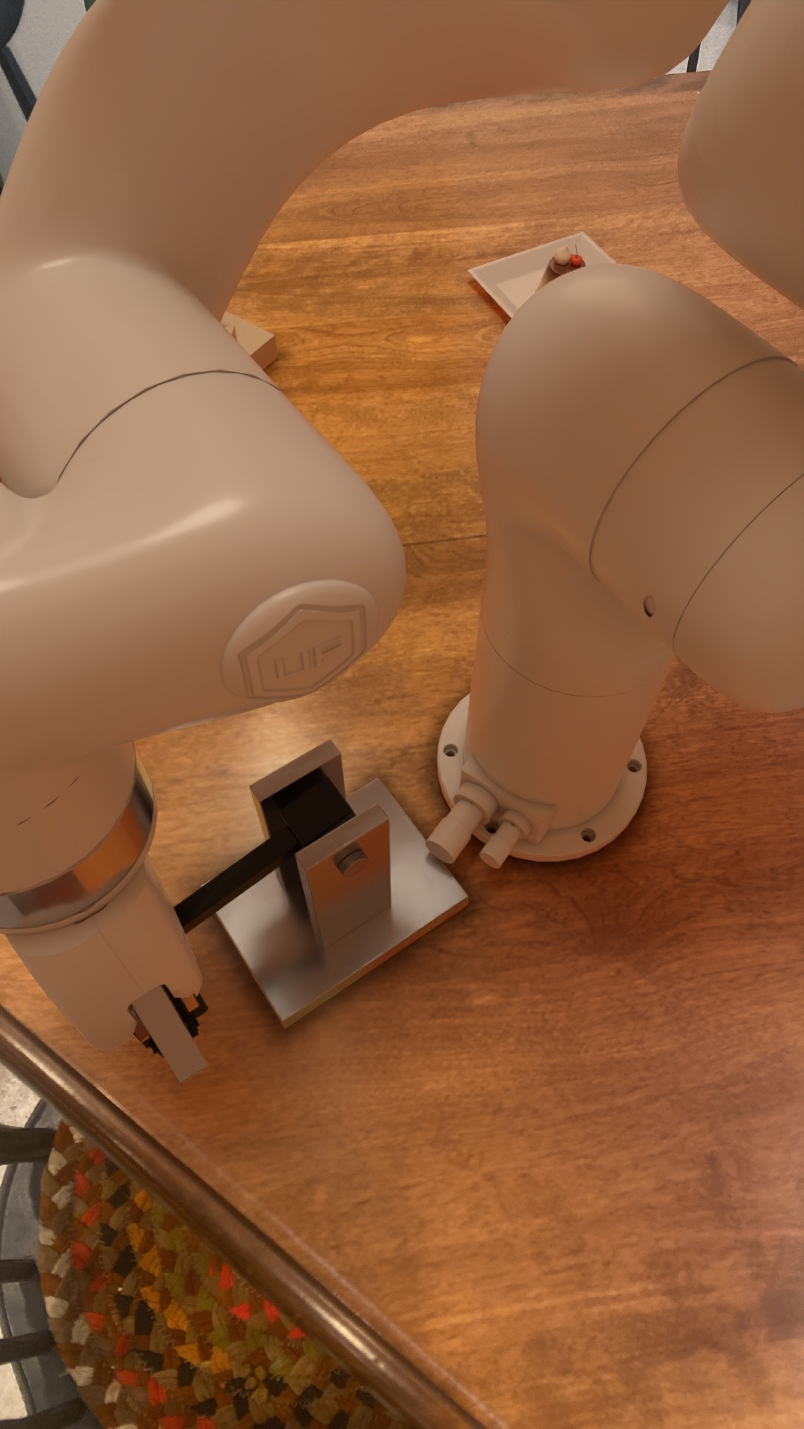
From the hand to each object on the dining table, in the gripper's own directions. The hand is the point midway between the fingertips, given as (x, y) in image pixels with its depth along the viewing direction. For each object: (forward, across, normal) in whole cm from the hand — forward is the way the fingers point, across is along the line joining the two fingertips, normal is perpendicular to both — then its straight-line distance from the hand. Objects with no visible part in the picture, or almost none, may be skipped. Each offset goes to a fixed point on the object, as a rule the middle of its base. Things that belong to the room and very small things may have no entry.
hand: (147, 972), depth 45 cm
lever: (-3, 0, +6) cm, 7 cm away
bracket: (+6, 0, +10) cm, 12 cm away
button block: (+6, -44, +25) cm, 51 cm away
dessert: (+5, -34, +55) cm, 65 cm away
